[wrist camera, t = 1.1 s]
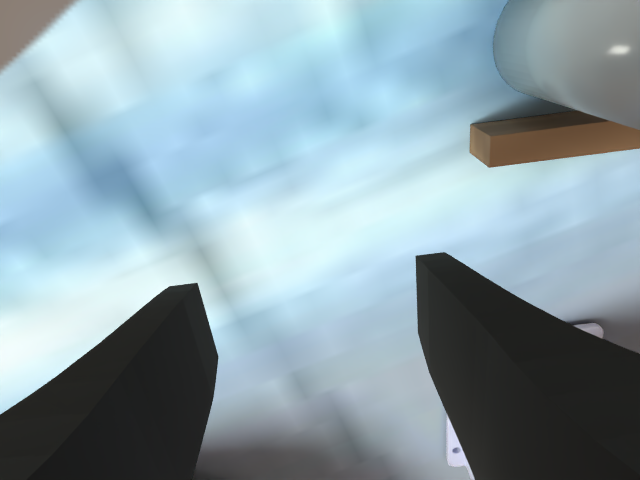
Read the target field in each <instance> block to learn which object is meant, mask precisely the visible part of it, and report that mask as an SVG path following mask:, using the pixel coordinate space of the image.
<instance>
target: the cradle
mask: <svg viewBox="0 0 640 480" xmlns="http://www.w3.org/2000/svg"><path fill="white" fill-rule="evenodd" d="M639 148H640V130H638V129H635V128H632V127H628V126H625V125H622V124H619V123H616V122H613V121H609V120H606V119H603V118H600V117H597V116H594V115H590V114H587V113H584V112H581V111H570V112H562V113H555V114H547V115H539V116H532V117H524V118H516V119H508V120H501V121H493V122H485V123H477V124H471V125H470V153H471V154H472V155H474V156H475V157H476V158H477V159H479V160H480V161H481V162H483V163H484V164H485V165H486V166H488V167H489V168H490V167H498V166H505V165H513V164H521V163H529V162H537V161H545V160H552V159H560V158H568V157H576V156H584V155H592V154H599V153H607V152H615V151H623V150H631V149H639Z"/></svg>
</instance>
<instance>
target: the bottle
mask: <svg viewBox="0 0 640 480" xmlns="http://www.w3.org/2000/svg"><path fill="white" fill-rule="evenodd" d="M493 54H494V60H495V64H496V67H497V69H498V71H499V73H500V75H501V76H502V78H503V79H504V80H505V82H506V83H507V84H508V85H510V86H511V87H512V88H514V89H515V90H517V91H519V92H522V93H524V94H527V95H530V96H534V97H537V98H540V99H543V100H546V101H549V102H553V103H556V104H559V105H562V106H565V107H568V108H571V109H575V110H578V111H581V112H584V113H587V114H590V115H594V116H597V117H600V118H603V119H606V120H609V121H613V122H616V123H619V124H622V125H625V126H628V127H632V128H635V129H638V130H640V0H509V1H508V3H507V4H506V6H505V7H504V9H503V11H502V13H501V15H500V17H499V19H498V22H497V25H496V28H495V33H494V40H493Z"/></svg>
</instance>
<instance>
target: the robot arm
mask: <svg viewBox="0 0 640 480" xmlns="http://www.w3.org/2000/svg"><path fill="white" fill-rule="evenodd" d="M416 282H417V315H418V334H419V338H420V342H421V345H422V349H423V352H424V356H425V359H426V363H427V366H428V369H429V373H430V375H431V377H432V380H433V382H434V385H435V387H436V389H437V392H438V394H439V396H440V399H441V401H442V403H443V406H444V408H445V410H446V413H447V433H446V458H447V461H448V464H449V465H450V466H453V467H459V466H466V468H467V470H468V473H469V476H470V479H471V480H640V354H638V353H636V352H633V351H631V350H628V349H625V348H623V347H620V346H618V345H616V344H613V343H611V342H609V341H607V340H604V339H603V334H604V330H603V329H602V328H601V327H600V326H599V325H598V324H596V323H588V324H580V325H571V324H568V323H566V322H564V321H562V320H560V319H558V318H556V317H554V316H552V315H551V314H549V313H547V312H545V311H543V310H541V309H539V308H537V307H535V306H533V305H531V304H530V303H528V302H526V301H524V300H522V299H521V298H519V297H517V296H515V295H514V294H512V293H510V292H508V291H507V290H505V289H503V288H502V287H500V286H498V285H497V284H495V283H493V282H492V281H490V280H489V279H487V278H485V277H484V276H482V275H481V274H479V273H477V272H476V271H474V270H473V269H471V268H469V267H468V266H466V265H465V264H463V263H461V262H460V261H458V260H457V259H455V258H453V257H452V256H450V255H448V254H446V253H445V252H443V253H435V254H427V255H419V256H416ZM217 364H218V354H217V350H216V347H215V343H214V340H213V336H212V333H211V329H210V326H209V322H208V319H207V315H206V312H205V308H204V305H203V301H202V298H201V294H200V290H199V287H198V283H193V284H185V285H177V286H170V287H168V288H167V289H165V290H164V291H162V292H161V293H160V294H158V295H157V296H156V297H155V298H153V299H152V300H151V301H150V302H148V303H147V304H146V305H145V306H144V307H142V308H141V309H140V310H139V311H138V312H136V313H135V314H134V315H133V316H132V317H130V318H129V319H128V320H127V321H126V322H124V323H123V324H122V325H121V326H120V327H118V328H117V329H116V330H115V331H114V332H112V333H111V334H110V335H109V336H108V337H106V338H105V339H104V340H103V341H102V342H100V343H99V344H98V345H97V346H95V347H94V348H93V349H91V350H90V351H89V352H87V353H86V354H85V355H84V356H82V357H81V358H80V359H78V360H77V361H76V362H74V363H73V364H72V365H71V366H69V367H68V368H67V369H65V370H64V371H63V372H62V373H60V374H59V375H58V376H56V377H55V378H53V379H52V380H51V381H49V382H48V383H47V384H45V385H44V386H42V387H41V388H39V389H38V390H37V391H35V392H34V393H32V394H31V395H29V396H28V397H26V398H25V399H23V400H22V401H20V402H19V403H17V404H16V405H14V406H13V407H11V408H10V409H8V410H7V411H5V412H4V413H2V414H1V415H0V480H192V478H193V474H194V470H195V466H196V463H197V459H198V455H199V451H200V448H201V444H202V440H203V436H204V433H205V429H206V425H207V421H208V417H209V413H210V409H211V405H212V401H213V396H214V389H215V382H216V373H217Z"/></svg>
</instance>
